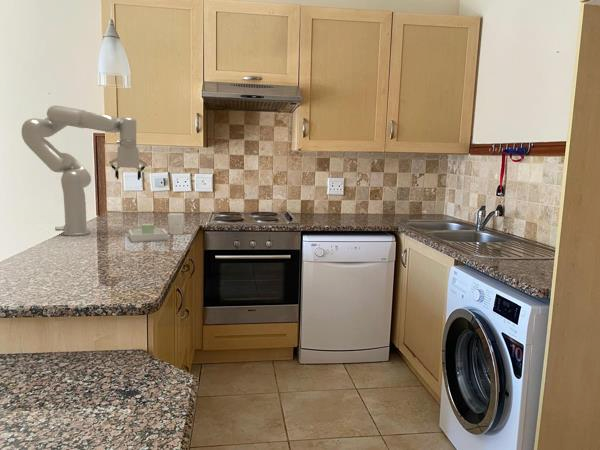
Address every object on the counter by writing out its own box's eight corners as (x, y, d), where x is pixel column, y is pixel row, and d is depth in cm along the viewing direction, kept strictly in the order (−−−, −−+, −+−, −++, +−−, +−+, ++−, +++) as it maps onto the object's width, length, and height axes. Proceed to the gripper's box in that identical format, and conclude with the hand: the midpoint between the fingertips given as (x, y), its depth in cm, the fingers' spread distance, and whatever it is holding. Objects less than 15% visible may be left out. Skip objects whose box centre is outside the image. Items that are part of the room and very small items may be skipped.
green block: (142, 238, 225) (142, 225, 224) (141, 236, 229) (141, 224, 228) (154, 237, 227) (153, 225, 226) (152, 236, 231) (152, 223, 230)
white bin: (131, 242, 218) (131, 234, 217) (128, 237, 232) (128, 229, 232) (168, 240, 224) (167, 233, 224) (163, 235, 239) (162, 228, 238)
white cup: (165, 234, 242) (164, 214, 241) (175, 232, 249) (175, 212, 248) (177, 235, 239) (176, 215, 237) (187, 233, 246) (187, 213, 244)
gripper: (108, 142, 227) (109, 179, 229) (147, 144, 233) (147, 180, 236) (108, 143, 233) (109, 178, 236) (146, 144, 240) (146, 179, 242)
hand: (128, 179), depth 236 cm, fingers open, 9 cm apart
